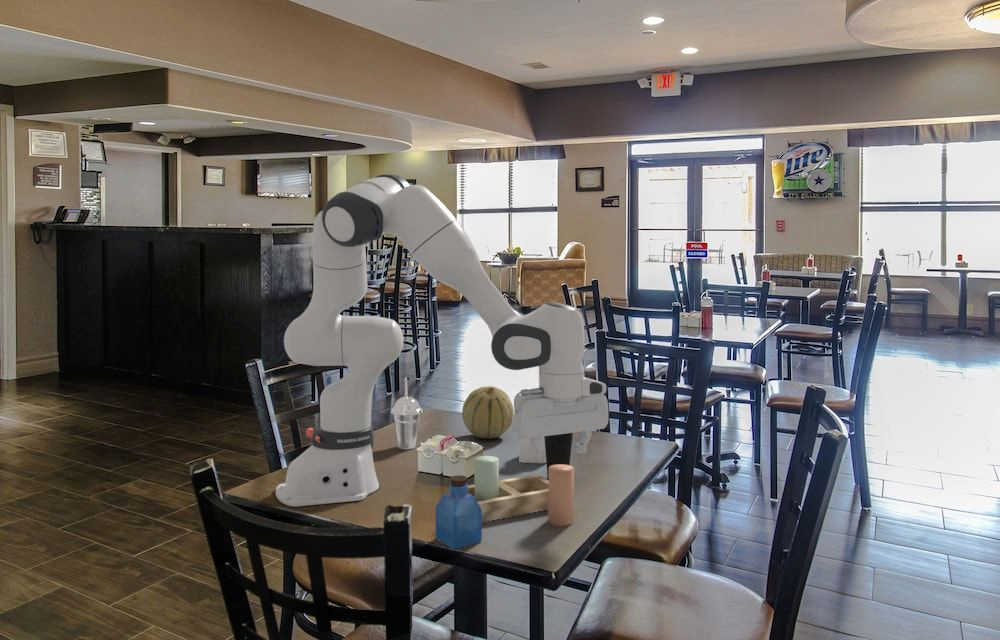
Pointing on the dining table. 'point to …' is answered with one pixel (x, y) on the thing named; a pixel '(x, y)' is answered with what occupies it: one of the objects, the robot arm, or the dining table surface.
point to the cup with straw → (406, 419)
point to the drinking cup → (558, 449)
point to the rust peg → (560, 495)
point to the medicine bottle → (530, 451)
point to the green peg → (486, 478)
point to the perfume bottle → (458, 516)
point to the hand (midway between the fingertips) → (560, 455)
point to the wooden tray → (515, 497)
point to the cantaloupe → (487, 412)
